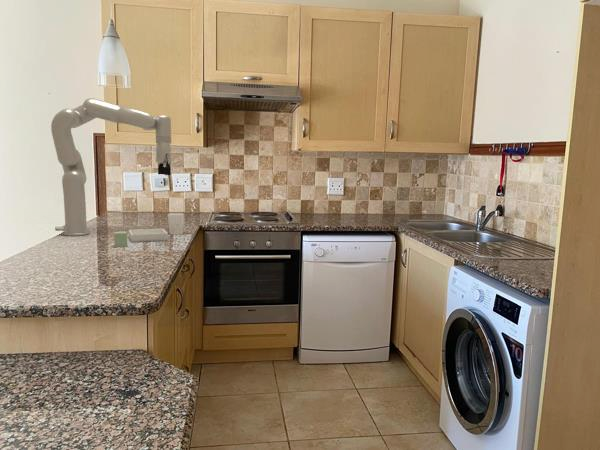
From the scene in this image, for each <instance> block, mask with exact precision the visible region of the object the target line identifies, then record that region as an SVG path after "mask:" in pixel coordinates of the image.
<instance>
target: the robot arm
mask: <svg viewBox="0 0 600 450" xmlns="http://www.w3.org/2000/svg"><path fill="white" fill-rule="evenodd" d="M94 119H101V120H104V121H109V122H112V123H116V124H125V125H129V126H134V127H138V128H139V129H140V128H142V130H144V131H153V130H155V144H156V149H155V151H156V152H155V162H156V163H157V174H158V175H164V176H171V175H172V172H171V171H172V169H171V167H172V163H171V162H172V153H171V144H172V119H171V117H170V116H169V115H163V114H162V115H160V114H159V115H154V116H153V115H152V114H150V113H148V112H143V111H140V110H136V109H132V108H128V107H125V106H122V105H118V104H114V103H112V102H108V101H104V100H100V99H98V98H97V99H96V98H92V97H89V98H85V100H84V101H83V103H82V104H81V105H79V106H77V107H75V108H73V109H72V108H65V109H61V110H60V111H58V112H57V113H56V114H55V115H54V117H53V118H52V121H51V125H50V127H51V129H50V130H51V136H52V140H53V145H54V148H55V152H56V153H55V154H56V156H57V160H58V162H59V163H60V165H61V166H62V170H63V172H64V174H63V176H62V180H61V183H62V184H61V185H62V193H63V205H64V206H63V207H64V225H62V226H55V228H54V229H55V231H56V232H57V231H58V232H60V231H62V232H61V235H63V236H66V235H67V237H71V236H72V237H73V236H74V237H77V236H78V237H79V236H86V235H90V234H91V230H90V229H88V226H87V223H88V222H87V206H86V205H87V204H86V203H87V202H86V191H85V189H86V188H85V184H86V183H87V175H86V170H85V167H84V163H83V159H82V156H81V152H79V151H78V149H76V145H75V141H74V138H73V134H72V129H75V128H79V127H80V126H83V125H84V124H85V125H86V124H87V123H89V122H91V121H93V120H94Z"/></svg>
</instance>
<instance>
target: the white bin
mask: <svg viewBox="0 0 600 450" xmlns="http://www.w3.org/2000/svg"><path fill="white" fill-rule="evenodd" d="M128 238H129V241H130V242H131V243H147V242H149V243H151V242H165V241H167V242H168V241H169V233H168V232H167V231H166V230H165V229H164V228H159V227H158V228H141V229H140V228H139V229H137V228H136V229H128Z"/></svg>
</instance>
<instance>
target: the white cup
mask: <svg viewBox="0 0 600 450" xmlns="http://www.w3.org/2000/svg"><path fill="white" fill-rule="evenodd" d="M167 220H168V229H169V231H168V232H169V233H168V234H169V235H174V236H175V235H176V236H177V235H183V234H184V229H185V228H184V227H185V214H184V213H181V212H180V213H178V212H173V213H168V214H167Z"/></svg>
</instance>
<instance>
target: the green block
mask: <svg viewBox="0 0 600 450" xmlns="http://www.w3.org/2000/svg"><path fill="white" fill-rule="evenodd" d="M113 242H114V243H113V245H114V248H128V232H127V231H125V230H124V231H123V230H122V231H113Z"/></svg>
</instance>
